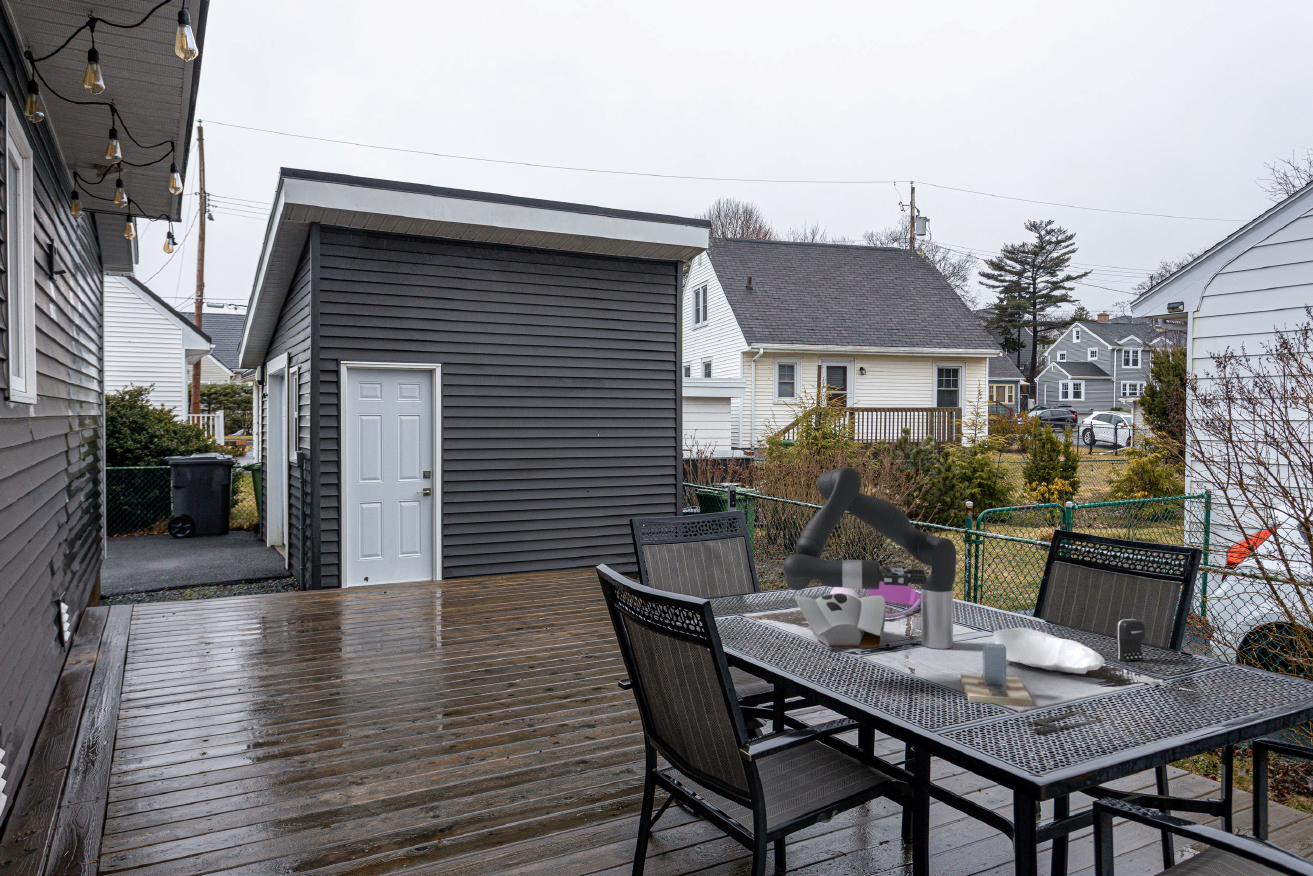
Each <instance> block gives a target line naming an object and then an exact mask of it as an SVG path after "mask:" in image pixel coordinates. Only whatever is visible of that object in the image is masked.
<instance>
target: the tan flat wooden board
mask: <svg viewBox="0 0 1313 876" xmlns="http://www.w3.org/2000/svg"><path fill="white" fill-rule="evenodd" d="M960 681H961V685H962V687H963V690H964V692H965V695H966V697H967V700H968V702H969V703H979V704H980V703H982V704H983V703H984V704H996V705H1009V706H1010V705H1011V706H1021V707H1023V706H1025V707H1033V699H1032V698H1031V696H1030V695H1029V693H1028V691H1027V690H1026V688H1025V686H1024V685H1023V683H1022V682H1021V680H1020V678H1019V677H1015V676H1014V677H1013V676H1006V688H1004V687H999V686H993V687H991V686H988V687H985V686H984V684H983V673H982V675H981V674H979V675H978V674H966V673H965V674H963V673H961V674H960Z"/></svg>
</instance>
